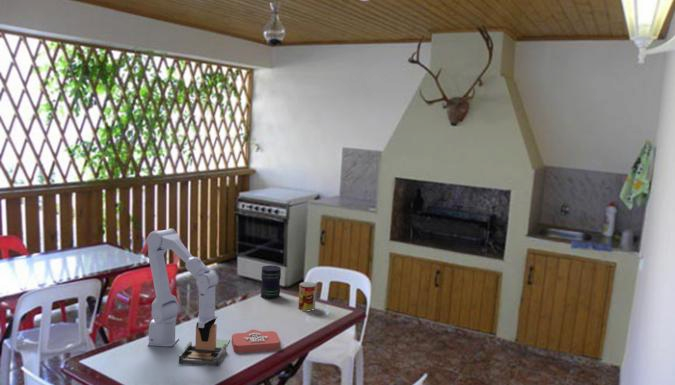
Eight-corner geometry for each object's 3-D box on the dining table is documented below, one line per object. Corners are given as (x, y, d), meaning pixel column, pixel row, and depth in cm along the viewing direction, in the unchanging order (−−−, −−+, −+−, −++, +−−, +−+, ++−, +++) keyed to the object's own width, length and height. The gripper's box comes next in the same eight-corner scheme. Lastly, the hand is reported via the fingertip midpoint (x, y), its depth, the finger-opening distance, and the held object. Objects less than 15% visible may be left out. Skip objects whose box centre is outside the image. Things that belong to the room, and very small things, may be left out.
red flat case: (274, 326, 208) (281, 341, 194) (274, 335, 208) (281, 350, 194) (230, 329, 202) (234, 344, 188) (230, 338, 203) (234, 354, 189)
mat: (193, 347, 192) (193, 346, 191) (199, 339, 199) (199, 338, 199) (224, 349, 191) (224, 348, 191) (229, 340, 199) (229, 340, 199)
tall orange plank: (195, 349, 185) (195, 325, 184) (197, 346, 188) (198, 323, 187) (214, 350, 185) (214, 326, 184) (215, 347, 188) (216, 324, 187)
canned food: (297, 305, 245) (298, 281, 243) (313, 305, 246) (314, 281, 245) (299, 311, 237) (300, 286, 236) (315, 311, 238) (317, 286, 237)
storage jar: (268, 300, 250) (269, 271, 248) (256, 295, 256) (257, 267, 255) (283, 296, 257) (285, 268, 255) (271, 292, 264) (272, 264, 262)
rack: (178, 363, 178) (178, 355, 177) (189, 349, 190) (189, 341, 189) (218, 366, 177) (218, 357, 177) (226, 351, 189) (226, 344, 189)
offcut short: (190, 360, 181) (190, 354, 181) (192, 357, 183) (192, 352, 183) (209, 361, 181) (209, 355, 181) (211, 358, 183) (211, 353, 183)
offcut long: (187, 362, 179) (187, 357, 179) (188, 360, 181) (189, 354, 181) (211, 364, 179) (211, 359, 178) (213, 362, 181) (213, 356, 180)
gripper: (212, 311, 177) (211, 348, 179) (222, 298, 192) (221, 332, 193) (192, 310, 177) (191, 346, 179) (204, 297, 192) (203, 331, 193)
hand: (205, 339), depth 186 cm, fingers closed on tall orange plank, 2 cm apart
